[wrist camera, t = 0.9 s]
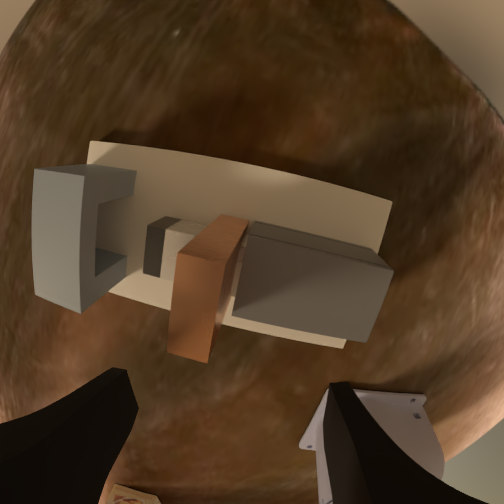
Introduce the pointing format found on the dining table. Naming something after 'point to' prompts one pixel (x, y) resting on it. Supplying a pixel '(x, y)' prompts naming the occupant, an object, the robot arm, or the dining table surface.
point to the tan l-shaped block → (196, 276)
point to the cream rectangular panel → (257, 240)
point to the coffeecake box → (130, 496)
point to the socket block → (75, 233)
